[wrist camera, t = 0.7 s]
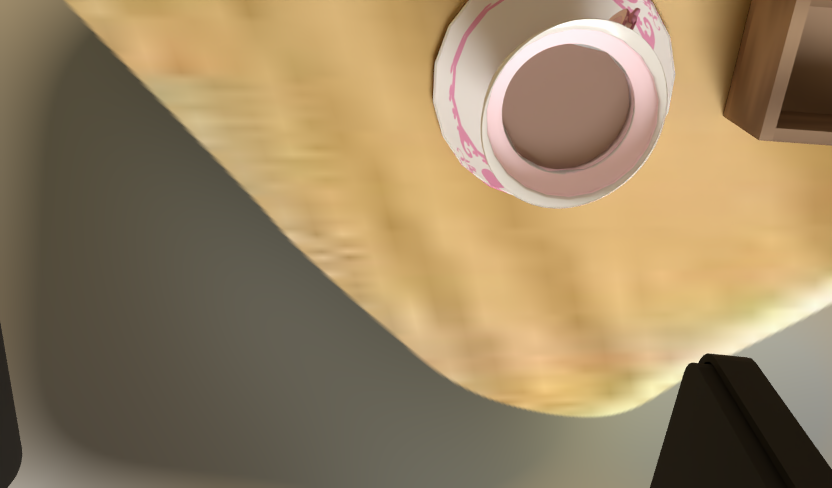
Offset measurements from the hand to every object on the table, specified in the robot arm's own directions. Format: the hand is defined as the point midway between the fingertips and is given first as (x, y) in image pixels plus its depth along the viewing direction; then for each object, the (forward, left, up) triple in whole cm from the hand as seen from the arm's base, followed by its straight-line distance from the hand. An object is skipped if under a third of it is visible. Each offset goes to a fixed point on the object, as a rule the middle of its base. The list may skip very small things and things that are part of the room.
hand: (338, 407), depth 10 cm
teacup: (+1, +7, -29) cm, 29 cm away
